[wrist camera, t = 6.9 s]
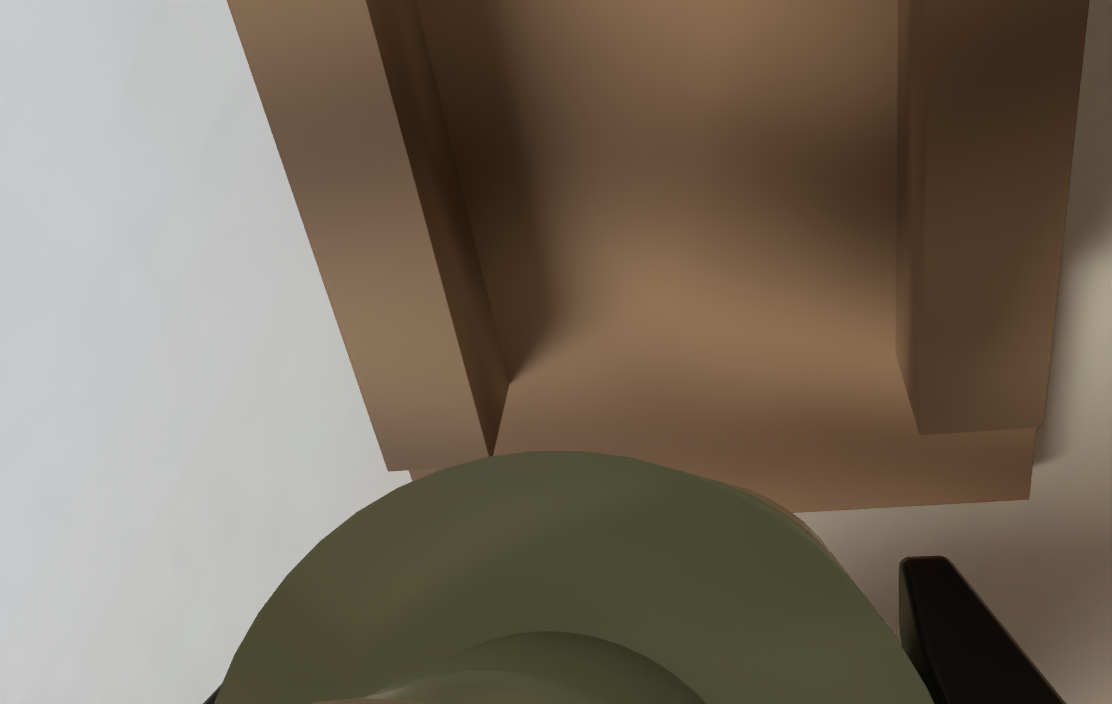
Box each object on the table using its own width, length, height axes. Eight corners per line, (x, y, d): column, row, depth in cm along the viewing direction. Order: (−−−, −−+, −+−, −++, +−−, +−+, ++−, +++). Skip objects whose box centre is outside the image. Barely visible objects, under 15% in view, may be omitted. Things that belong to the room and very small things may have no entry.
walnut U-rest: (1019, 473, 22) (1064, 590, 20) (435, 509, 25) (405, 617, 22) (1106, -455, 14) (1211, -475, 11) (190, -264, 16) (89, -242, 13)
